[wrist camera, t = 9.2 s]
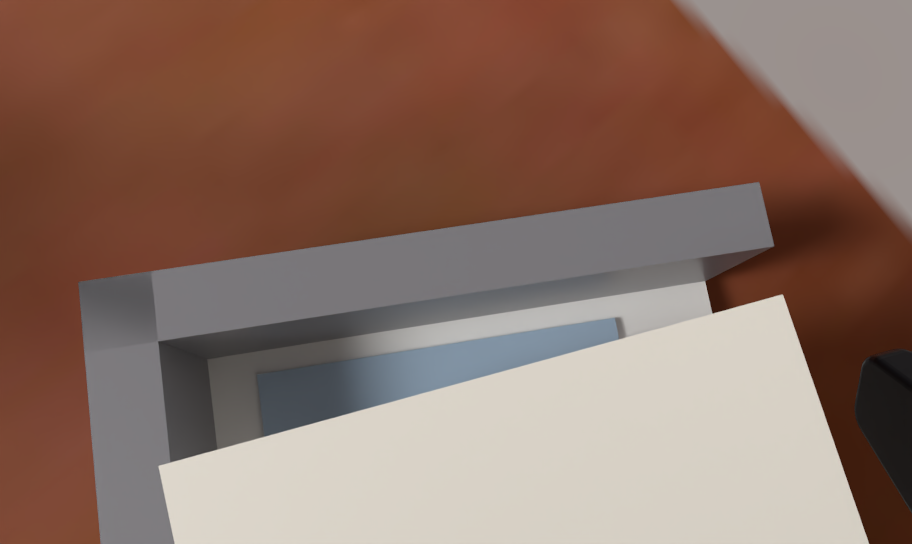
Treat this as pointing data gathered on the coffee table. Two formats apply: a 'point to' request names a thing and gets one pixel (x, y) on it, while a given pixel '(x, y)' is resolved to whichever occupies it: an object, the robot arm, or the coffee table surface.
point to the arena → (377, 326)
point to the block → (554, 454)
